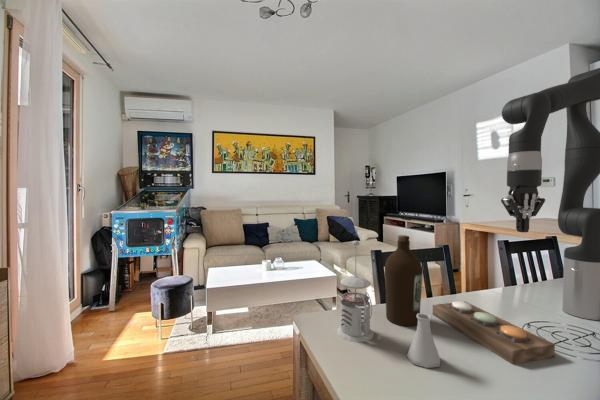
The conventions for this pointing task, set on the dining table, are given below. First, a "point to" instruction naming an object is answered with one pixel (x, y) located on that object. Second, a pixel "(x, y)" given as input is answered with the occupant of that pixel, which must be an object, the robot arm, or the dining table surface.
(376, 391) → the dining table surface
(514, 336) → the button orange
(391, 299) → the olive oil
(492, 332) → the console
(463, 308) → the button cream
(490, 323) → the button sage
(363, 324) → the french press
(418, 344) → the flask
